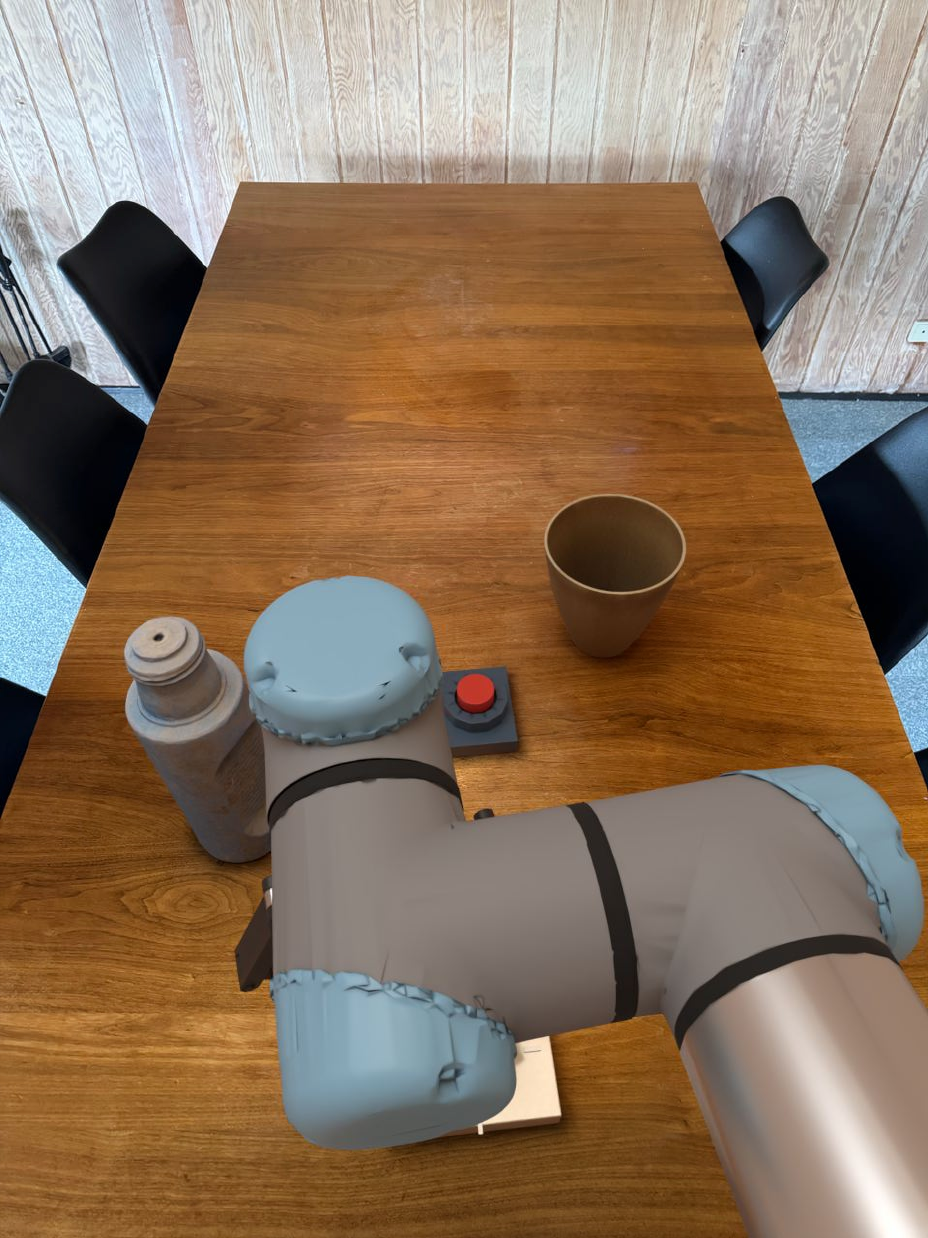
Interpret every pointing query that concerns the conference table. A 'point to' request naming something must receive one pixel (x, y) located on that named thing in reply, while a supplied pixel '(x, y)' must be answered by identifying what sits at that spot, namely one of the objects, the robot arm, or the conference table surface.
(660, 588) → the plant pot
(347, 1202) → the conference table surface
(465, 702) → the button
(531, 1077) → the knob panel
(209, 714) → the bottle
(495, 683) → the button block
